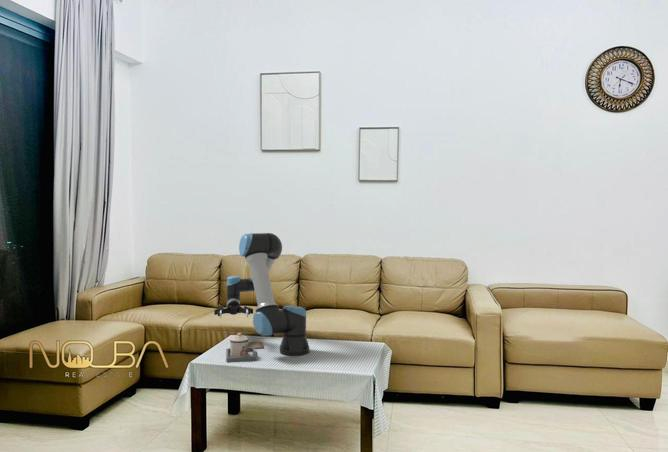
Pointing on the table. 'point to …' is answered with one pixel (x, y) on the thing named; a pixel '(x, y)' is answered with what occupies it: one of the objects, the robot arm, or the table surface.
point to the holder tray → (235, 359)
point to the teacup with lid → (239, 346)
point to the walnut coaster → (255, 345)
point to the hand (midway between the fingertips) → (234, 314)
